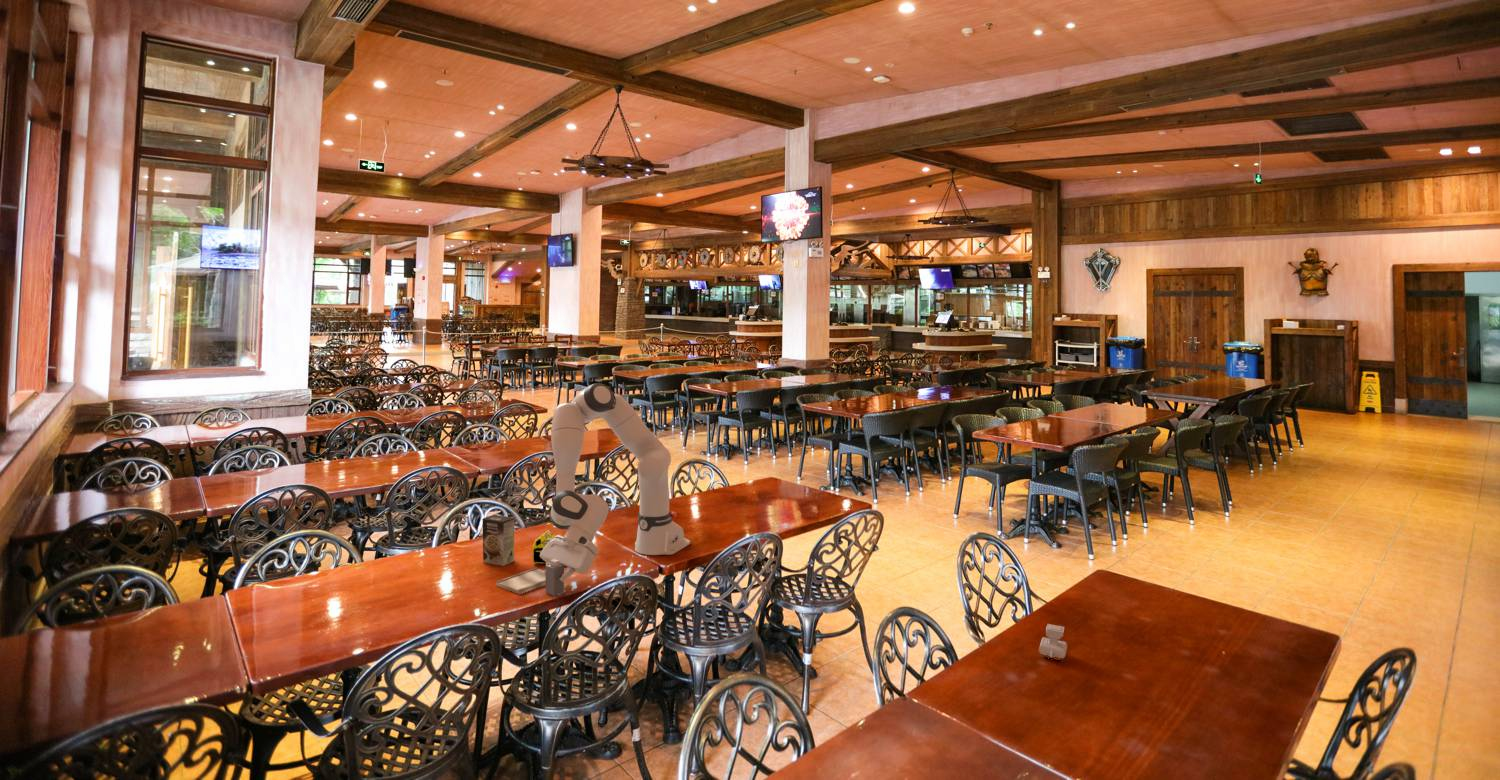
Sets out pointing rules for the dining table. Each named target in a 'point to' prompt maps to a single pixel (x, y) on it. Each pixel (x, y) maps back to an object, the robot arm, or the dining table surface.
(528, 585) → the board
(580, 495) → the robot arm
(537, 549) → the yellow toy chassis
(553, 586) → the grey bottle
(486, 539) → the coffee box
